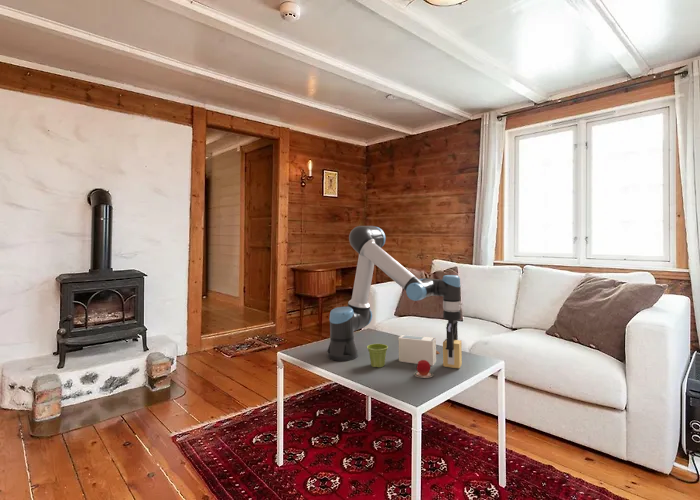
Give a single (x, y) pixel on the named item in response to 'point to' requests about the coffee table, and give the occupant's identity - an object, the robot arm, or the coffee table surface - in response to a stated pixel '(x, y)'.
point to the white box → (417, 349)
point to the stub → (456, 354)
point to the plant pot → (377, 354)
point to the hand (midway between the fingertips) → (452, 361)
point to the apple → (423, 369)
